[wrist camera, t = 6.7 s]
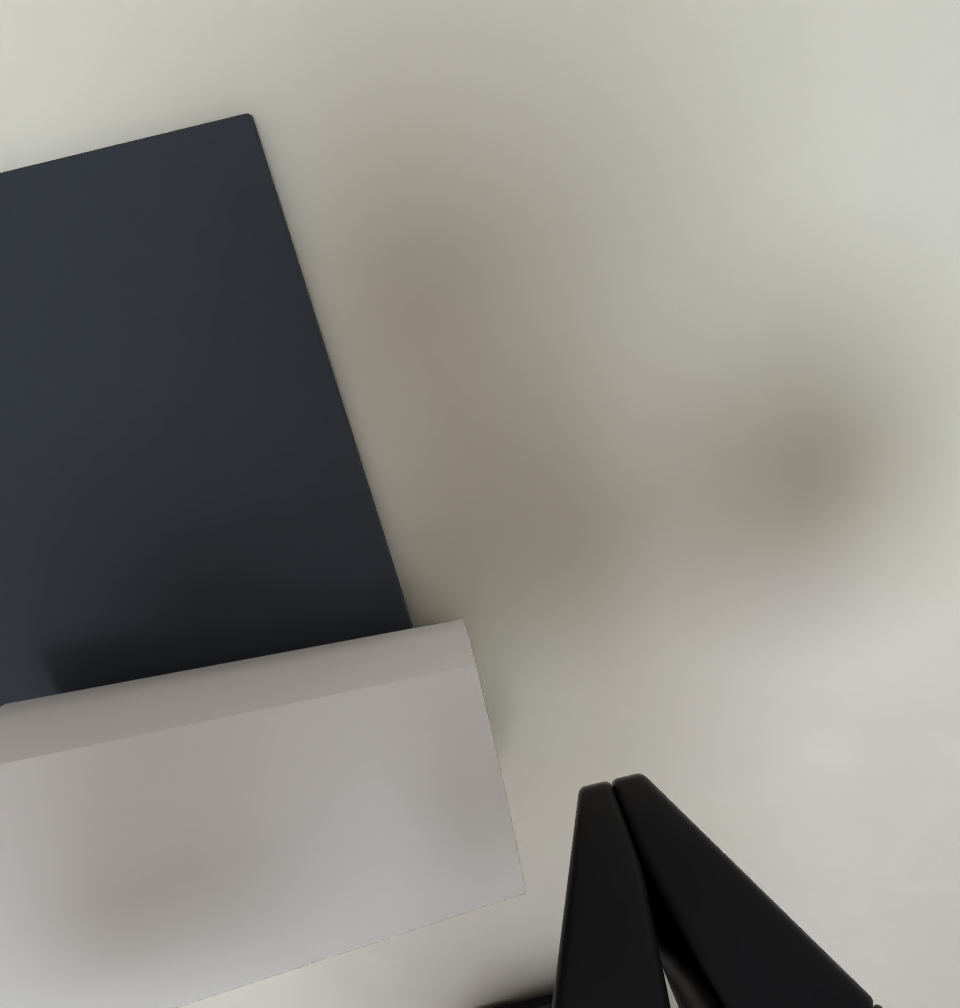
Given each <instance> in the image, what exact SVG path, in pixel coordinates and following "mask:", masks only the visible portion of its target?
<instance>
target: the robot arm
mask: <svg viewBox="0 0 960 1008" xmlns="http://www.w3.org/2000/svg"><path fill="white" fill-rule="evenodd" d="M663 969H664V972H665V974H666V977H667V980H668V982H669V985H670V987H671V990H672V992H673V994H674V997H675V999H676V1002H677V1004H678V1006H679V1008H882V1007H881V1006H880V1005H874V1006H873V1000H872V998H871V996H870V995H869V994H868V993H867V992H866V991H865V990H864V989H863V988H861V987H860V986H859V985H858V984H857V983H856V982H855V981H854V980H853V979H852V978H851V977H850V976H849V975H848V974H847V973H846V972H845V971H844V970H843V969H842V968H841V967H840V966H839V965H838V964H837V963H836V962H835V961H834V960H833V959H832V958H831V957H830V956H829V955H828V954H827V953H826V952H825V951H824V950H823V949H822V948H821V947H820V946H819V945H818V944H817V943H815V942H814V941H813V940H812V939H811V938H810V937H809V936H808V935H807V934H806V933H805V932H804V931H803V930H802V929H801V928H800V927H799V926H798V925H797V924H796V923H795V922H794V921H793V920H792V919H791V918H790V917H789V916H788V915H787V914H786V913H785V912H784V911H783V910H782V909H781V908H780V907H779V906H778V905H777V904H776V903H775V902H774V901H773V900H772V899H771V898H769V897H768V896H767V895H766V894H765V893H764V892H763V891H762V890H761V889H760V888H759V887H758V886H757V885H756V884H755V883H754V882H753V881H752V880H751V879H750V878H749V877H748V876H747V875H746V874H745V873H744V872H743V871H742V870H741V869H740V868H739V867H738V866H737V865H736V864H735V863H734V862H733V861H732V860H731V859H730V858H729V857H728V856H727V855H726V854H725V853H723V852H722V851H721V850H720V849H719V848H718V847H717V846H716V845H715V844H714V843H713V842H712V841H711V840H710V839H709V838H708V837H707V836H706V835H705V834H704V833H703V832H702V831H701V830H700V829H699V828H698V827H697V826H696V825H695V824H694V823H693V822H692V821H691V820H690V819H689V818H688V817H687V816H686V815H685V814H684V813H683V812H682V811H681V810H680V809H679V808H678V807H676V806H675V805H674V804H673V803H672V802H671V801H670V800H669V799H668V798H667V797H666V796H665V795H664V794H663V793H662V792H661V791H660V790H659V789H658V788H657V787H656V786H655V785H654V784H653V783H652V782H651V781H650V780H649V779H648V778H647V777H645V776H644V775H642V774H633V775H629V776H625V777H621V778H617V779H615V780H614V781H613V782H612V785H611V784H610V783H609V782H600V783H596V784H592V785H588V786H584V787H582V788H581V789H580V791H579V795H578V802H577V810H576V818H575V827H574V835H573V843H572V851H571V859H570V867H569V875H568V883H567V891H566V899H565V907H564V915H563V923H562V931H561V939H560V947H559V955H558V963H557V971H556V979H555V987H554V995H552V996H548V997H543V998H539V999H535V1000H531V1001H526V1002H522V1003H518V1004H514V1005H509V1006H505V1007H501V1008H670V1003H669V997H668V992H667V987H666V982H665V977H664V972H663Z"/></svg>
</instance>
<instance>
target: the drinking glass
mask: <svg viewBox="0 0 960 1008" xmlns="http://www.w3.org/2000/svg"><path fill="white" fill-rule="evenodd" d="M523 894H525V888H524V880H523V875H522V870H521V864H520V859H519V854H518V849H517V844H516V839H515V834H514V830H513V825H512V820H511V816H510V811H509V806H508V802H507V797H506V793H505V788H504V783H503V779H502V774H501V770H500V766H499V761H498V757H497V752H496V748H495V744H494V739H493V735H492V731H491V726H490V722H489V717H488V713H487V709H486V705H485V701H484V697H483V693H482V688H481V684H480V680H479V676H478V672H477V668H476V664H475V660H474V656H473V652H472V648H471V644H470V641H469V637H468V633H467V630H466V627H465V624H464V621H463V619H459V620H455V621H450V622H444V623H439V624H433V625H428V626H423V627H417V628H412V629H406V630H401V631H396V632H390V633H385V634H379V635H374V636H369V637H363V638H358V639H353V640H347V641H342V642H336V643H331V644H326V645H320V646H315V647H309V648H304V649H299V650H293V651H288V652H283V653H277V654H272V655H266V656H261V657H256V658H250V659H245V660H239V661H234V662H229V663H223V664H218V665H213V666H207V667H202V668H196V669H191V670H186V671H180V672H175V673H169V674H164V675H159V676H153V677H148V678H143V679H137V680H132V681H126V682H121V683H116V684H110V685H105V686H99V687H94V688H89V689H83V690H78V691H73V692H67V693H62V694H56V695H51V696H46V697H40V698H35V699H29V700H24V701H19V702H13V703H8V704H5V705H3V706H1V707H0V1008H177V1007H180V1006H183V1005H186V1004H190V1003H193V1002H196V1001H199V1000H202V999H205V998H208V997H211V996H214V995H217V994H220V993H223V992H226V991H229V990H232V989H235V988H238V987H241V986H244V985H247V984H250V983H254V982H257V981H260V980H263V979H266V978H269V977H272V976H275V975H278V974H281V973H284V972H287V971H290V970H293V969H296V968H299V967H302V966H305V965H308V964H311V963H314V962H318V961H321V960H324V959H327V958H330V957H333V956H336V955H339V954H342V953H345V952H348V951H351V950H354V949H357V948H360V947H363V946H366V945H369V944H372V943H375V942H378V941H382V940H385V939H388V938H391V937H394V936H397V935H400V934H403V933H406V932H409V931H412V930H415V929H418V928H421V927H424V926H427V925H430V924H433V923H436V922H439V921H442V920H446V919H449V918H452V917H455V916H458V915H461V914H464V913H467V912H470V911H473V910H476V909H479V908H482V907H485V906H488V905H491V904H494V903H497V902H500V901H503V900H506V899H510V898H513V897H516V896H519V895H523Z"/></svg>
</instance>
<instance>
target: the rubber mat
mask: <svg viewBox="0 0 960 1008" xmlns="http://www.w3.org/2000/svg"><path fill="white" fill-rule="evenodd" d="M412 628H413V626H412V622H411V619H410V616H409V613H408V610H407V607H406V603H405V600H404V597H403V594H402V591H401V588H400V584H399V581H398V578H397V575H396V572H395V568H394V565H393V562H392V559H391V556H390V553H389V549H388V546H387V543H386V540H385V537H384V533H383V530H382V527H381V524H380V521H379V518H378V514H377V511H376V508H375V505H374V502H373V498H372V495H371V492H370V489H369V486H368V483H367V479H366V476H365V473H364V470H363V467H362V463H361V460H360V457H359V454H358V451H357V448H356V444H355V441H354V438H353V435H352V432H351V428H350V425H349V422H348V419H347V416H346V413H345V409H344V406H343V403H342V400H341V397H340V393H339V390H338V387H337V384H336V381H335V378H334V374H333V371H332V368H331V365H330V362H329V358H328V355H327V352H326V349H325V346H324V343H323V339H322V336H321V333H320V330H319V327H318V323H317V320H316V317H315V314H314V311H313V308H312V304H311V301H310V298H309V295H308V292H307V289H306V285H305V282H304V279H303V276H302V273H301V269H300V266H299V263H298V260H297V257H296V254H295V250H294V247H293V244H292V241H291V238H290V234H289V231H288V228H287V225H286V222H285V219H284V215H283V212H282V209H281V206H280V203H279V199H278V196H277V193H276V190H275V187H274V184H273V180H272V177H271V174H270V171H269V168H268V164H267V161H266V158H265V155H264V152H263V149H262V145H261V142H260V139H259V136H258V133H257V129H256V126H255V123H254V120H253V117H252V115H250V114H242V115H238V116H234V117H230V118H226V119H222V120H218V121H214V122H209V123H205V124H201V125H197V126H193V127H189V128H185V129H180V130H176V131H172V132H168V133H164V134H160V135H156V136H151V137H147V138H143V139H139V140H135V141H131V142H127V143H123V144H118V145H114V146H110V147H106V148H102V149H98V150H94V151H89V152H85V153H81V154H77V155H73V156H69V157H65V158H60V159H56V160H52V161H48V162H44V163H40V164H36V165H32V166H27V167H23V168H19V169H15V170H11V171H7V172H3V173H0V707H1V706H3V705H5V704H8V703H13V702H19V701H24V700H29V699H35V698H40V697H46V696H51V695H56V694H62V693H67V692H73V691H78V690H83V689H89V688H94V687H99V686H105V685H110V684H116V683H121V682H126V681H132V680H137V679H143V678H148V677H153V676H159V675H164V674H169V673H175V672H180V671H186V670H191V669H196V668H202V667H207V666H213V665H218V664H223V663H229V662H234V661H239V660H245V659H250V658H256V657H261V656H266V655H272V654H277V653H283V652H288V651H293V650H299V649H304V648H309V647H315V646H320V645H326V644H331V643H336V642H342V641H347V640H353V639H358V638H363V637H369V636H374V635H379V634H385V633H390V632H396V631H401V630H406V629H412Z"/></svg>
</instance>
